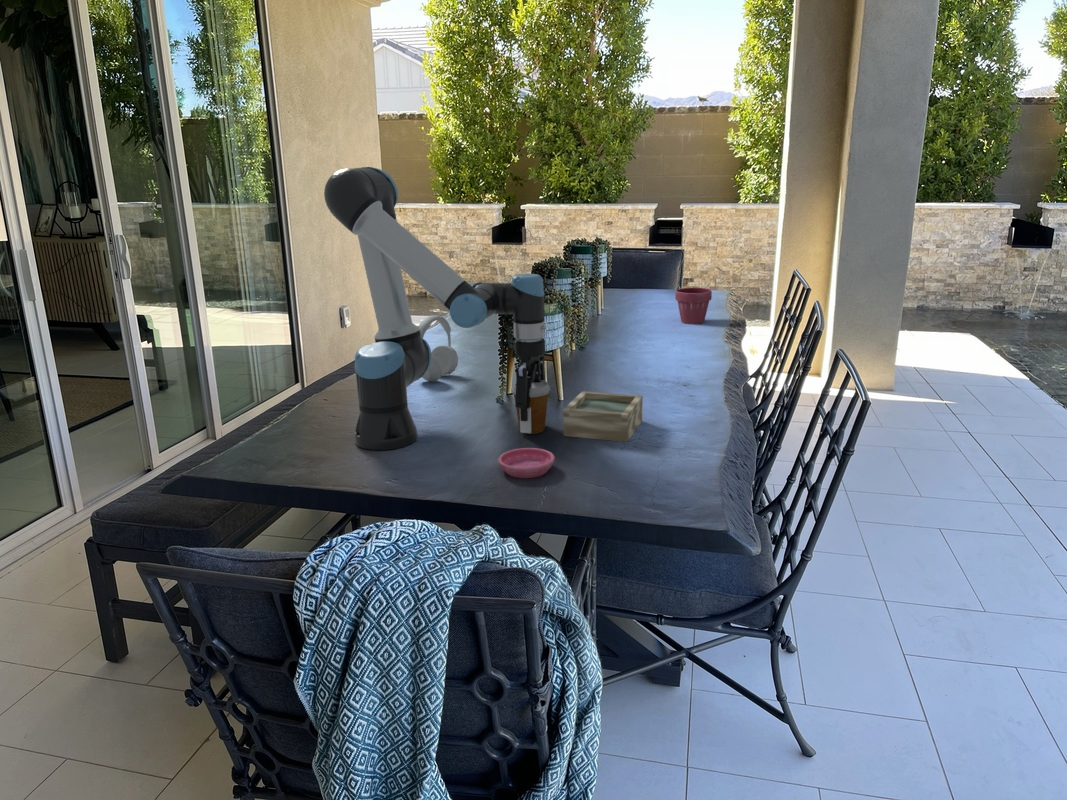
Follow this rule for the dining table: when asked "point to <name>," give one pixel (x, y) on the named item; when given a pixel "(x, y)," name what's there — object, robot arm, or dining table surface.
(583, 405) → the open wooden box
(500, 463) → the saucer
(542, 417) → the disposable coffee cup
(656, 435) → the dining table surface
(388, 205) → the robot arm
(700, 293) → the plant pot
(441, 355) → the headphones
